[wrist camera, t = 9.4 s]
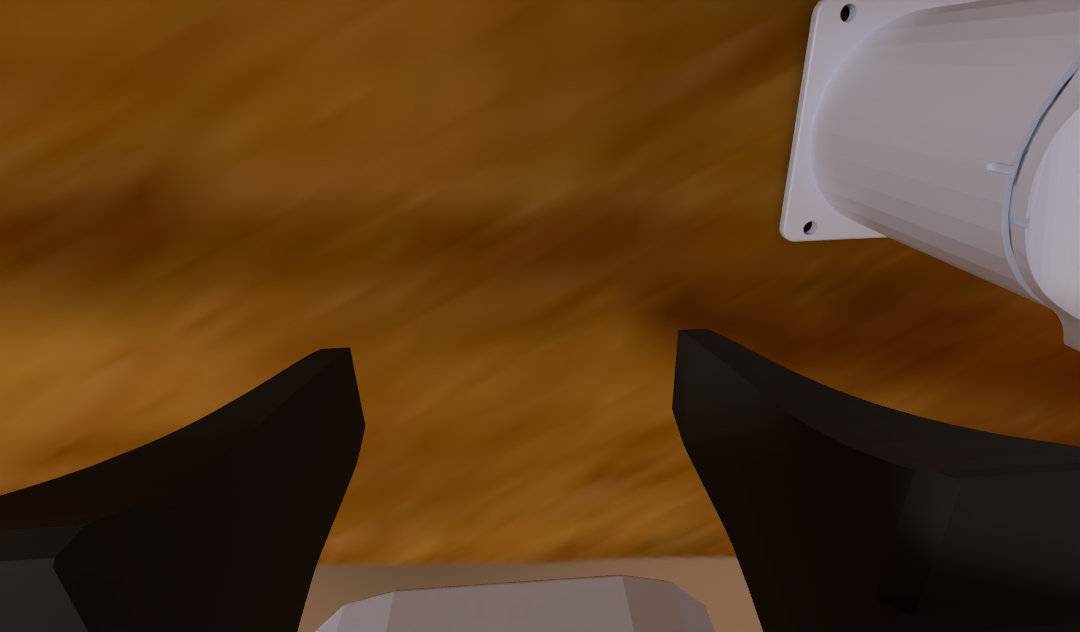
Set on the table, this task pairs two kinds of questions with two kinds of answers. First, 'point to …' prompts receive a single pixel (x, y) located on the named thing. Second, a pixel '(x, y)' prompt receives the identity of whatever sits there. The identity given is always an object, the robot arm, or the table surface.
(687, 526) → the table surface
